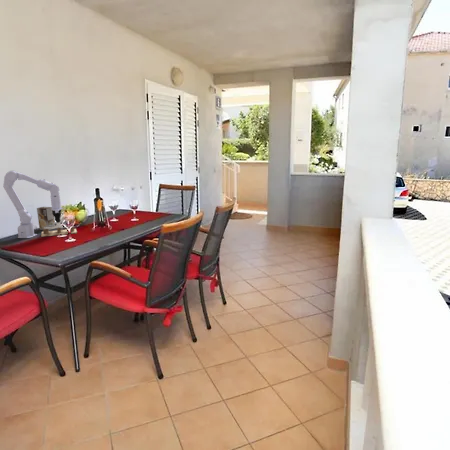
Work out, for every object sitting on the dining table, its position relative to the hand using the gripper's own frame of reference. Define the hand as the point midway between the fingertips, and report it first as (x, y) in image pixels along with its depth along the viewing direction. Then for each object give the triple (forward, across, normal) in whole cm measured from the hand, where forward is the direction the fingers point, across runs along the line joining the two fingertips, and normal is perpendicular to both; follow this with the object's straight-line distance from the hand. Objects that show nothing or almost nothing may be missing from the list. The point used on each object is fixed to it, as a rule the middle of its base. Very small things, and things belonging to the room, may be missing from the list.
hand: (58, 221), depth 235 cm
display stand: (+8, 0, 0) cm, 8 cm away
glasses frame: (+4, 0, 0) cm, 4 cm away
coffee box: (+9, +18, +8) cm, 21 cm away
